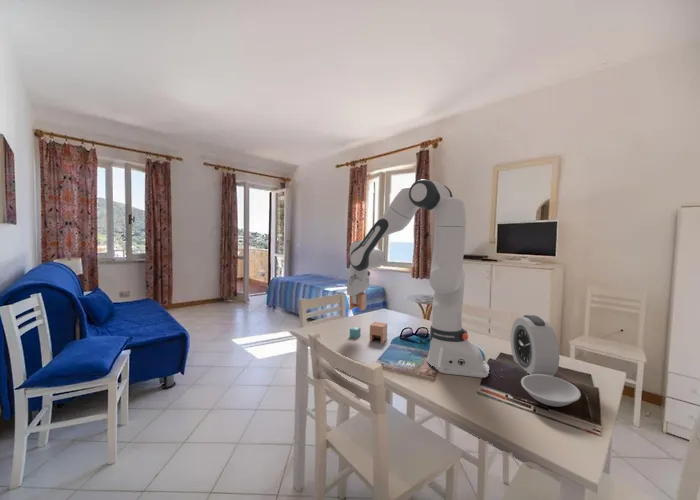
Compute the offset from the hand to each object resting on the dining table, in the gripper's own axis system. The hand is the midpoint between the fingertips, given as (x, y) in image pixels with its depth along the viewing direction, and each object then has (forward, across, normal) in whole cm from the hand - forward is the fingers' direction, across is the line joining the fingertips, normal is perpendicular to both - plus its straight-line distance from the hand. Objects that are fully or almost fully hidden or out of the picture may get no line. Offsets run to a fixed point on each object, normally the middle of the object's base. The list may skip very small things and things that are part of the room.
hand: (358, 301), depth 143 cm
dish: (+18, -30, -74) cm, 82 cm away
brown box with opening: (+17, -1, -11) cm, 20 cm away
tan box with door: (+4, 0, 0) cm, 4 cm away
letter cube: (+17, -1, +1) cm, 17 cm away
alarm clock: (+18, -5, -73) cm, 75 cm away
